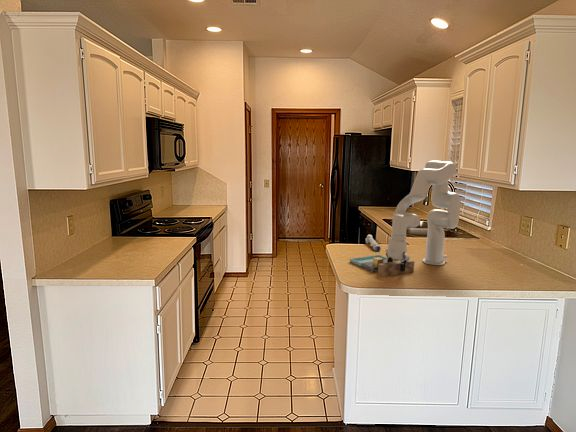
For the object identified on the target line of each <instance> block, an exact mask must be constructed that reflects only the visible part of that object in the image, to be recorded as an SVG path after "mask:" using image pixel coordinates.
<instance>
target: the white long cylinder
mask: <svg viewBox="0 0 576 432" xmlns="http://www.w3.org/2000/svg"><path fill="white" fill-rule="evenodd" d="M365 244H367V245H371V247H372V249H373V251H375V252H380V251H381V246H380V244H379V243H377V241H376V240H375V239H374V238H373V235H372V234H368V235H366V238H365Z"/></svg>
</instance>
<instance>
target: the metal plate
mask: <svg viewBox="0 0 576 432" xmlns="http://www.w3.org/2000/svg"><path fill="white" fill-rule="evenodd" d="M387 261H388V259H387V260H383V263H387ZM372 264H373V261H372V262H365V263H362V267H361V268H362V269H364V268H365V269H364V270H367V271H369V272H371V271H372V273H378V272H377V271H378V267H376V266H374V265H372Z"/></svg>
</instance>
